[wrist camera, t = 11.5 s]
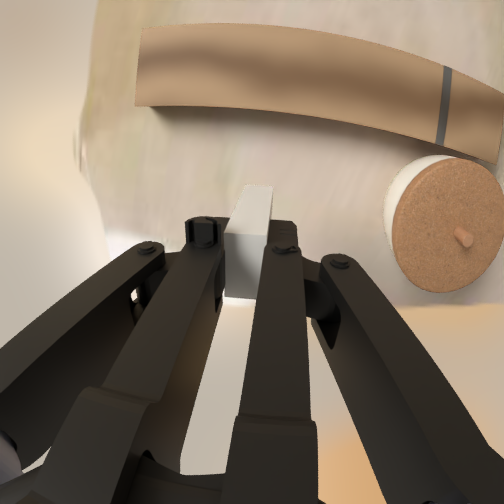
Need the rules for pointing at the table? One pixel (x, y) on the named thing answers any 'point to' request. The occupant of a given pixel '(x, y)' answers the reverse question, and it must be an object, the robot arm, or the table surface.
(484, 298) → the table surface
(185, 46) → the board
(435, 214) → the lidded jar
